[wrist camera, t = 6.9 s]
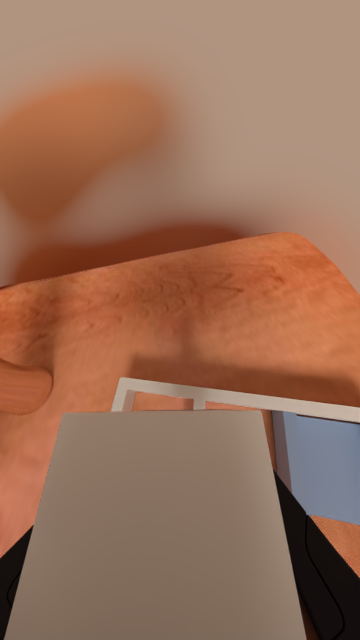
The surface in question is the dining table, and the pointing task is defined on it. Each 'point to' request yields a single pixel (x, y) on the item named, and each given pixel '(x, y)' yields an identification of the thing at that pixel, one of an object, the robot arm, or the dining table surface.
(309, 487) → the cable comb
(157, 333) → the dining table surface
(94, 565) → the grey tall block
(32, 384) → the beer glass
